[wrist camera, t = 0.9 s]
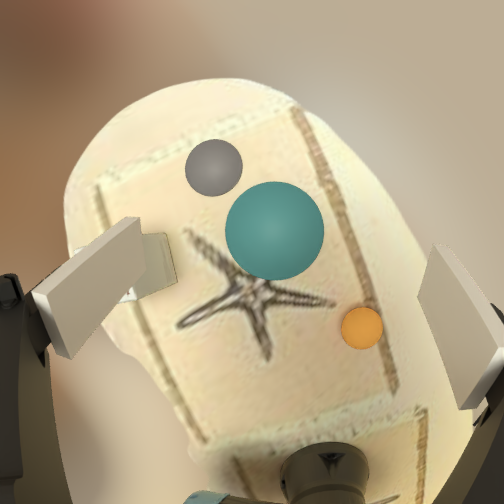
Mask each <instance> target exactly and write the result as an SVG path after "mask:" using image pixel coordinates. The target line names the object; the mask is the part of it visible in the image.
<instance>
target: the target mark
mask: <svg viewBox="0 0 504 504" xmlns="http://www.w3.org/2000/svg"><path fill="white" fill-rule="evenodd" d="M225 233H226V241H227V245H228V248H229V250H230V253H231V255H232V256H233V258H234V260H235V261H236V262H237V263H238V264H239V265H240V266H241V267H242V268H243V269H244V270H245V271H247V272H248V273H250V274H252V275H253V276H256V277H258V278H262V279H266V280H283V279H288V278H291V277H294V276H296V275H298V274H300V273H301V272H303V271H304V270H305V269H307V268H308V267H309V266H310V265H311V264H312V263H313V261H314V260H315V258H316V257H317V255H318V253H319V251H320V249H321V246H322V242H323V236H324V226H323V220H322V216H321V213H320V211H319V209H318V207H317V205H316V204H315V202H314V201H313V200H312V199H311V197H310V196H309V195H307V194H306V193H305V192H304V191H302V190H301V189H299V188H297V187H296V186H293V185H291V184H288V183H283V182H266V183H261V184H258V185H256V186H253V187H251V188H250V189H248V190H247V191H245V192H244V193H243V194H241V195H240V196H239V198H238V199H237V200H236V201H235V202H234V204H233V205H232V207H231V209H230V211H229V214H228V217H227V221H226V228H225Z"/></svg>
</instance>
